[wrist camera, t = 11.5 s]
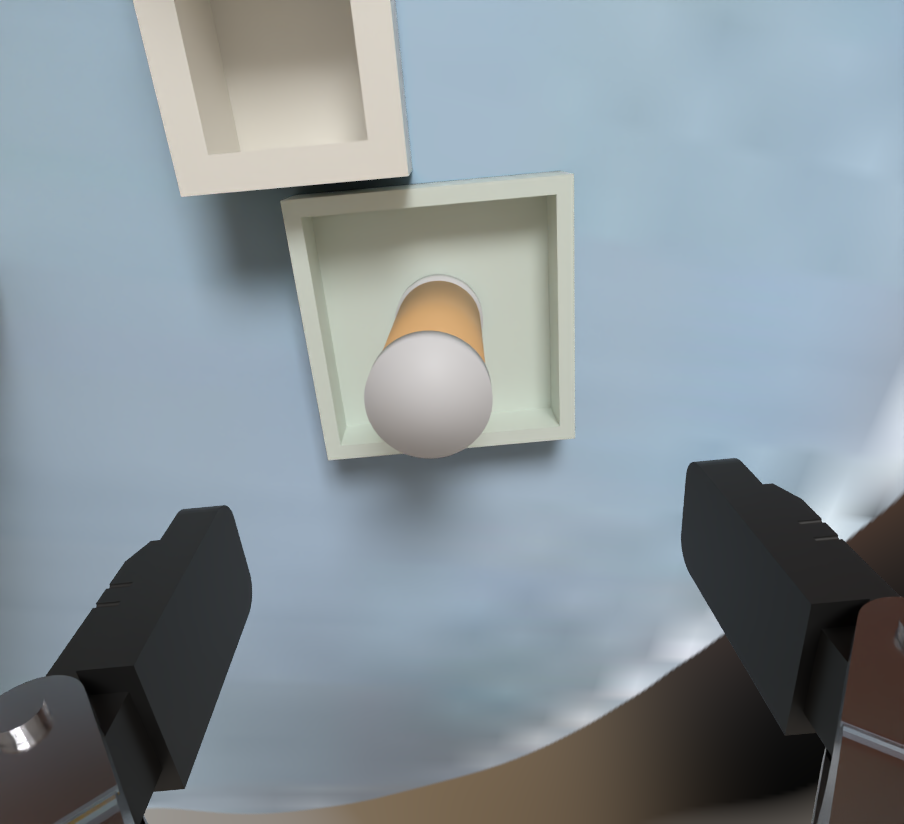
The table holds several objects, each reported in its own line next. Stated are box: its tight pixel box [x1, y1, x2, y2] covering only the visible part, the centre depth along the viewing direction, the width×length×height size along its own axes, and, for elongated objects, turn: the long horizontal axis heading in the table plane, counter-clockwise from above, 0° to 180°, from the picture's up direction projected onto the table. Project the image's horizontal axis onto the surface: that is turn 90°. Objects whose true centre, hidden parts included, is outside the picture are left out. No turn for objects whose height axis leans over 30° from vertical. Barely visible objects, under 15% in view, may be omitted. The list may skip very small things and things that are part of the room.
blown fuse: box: [364, 274, 493, 459], centre depth 21 cm, size 3×3×9 cm
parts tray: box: [280, 171, 575, 460], centre depth 24 cm, size 10×10×2 cm
